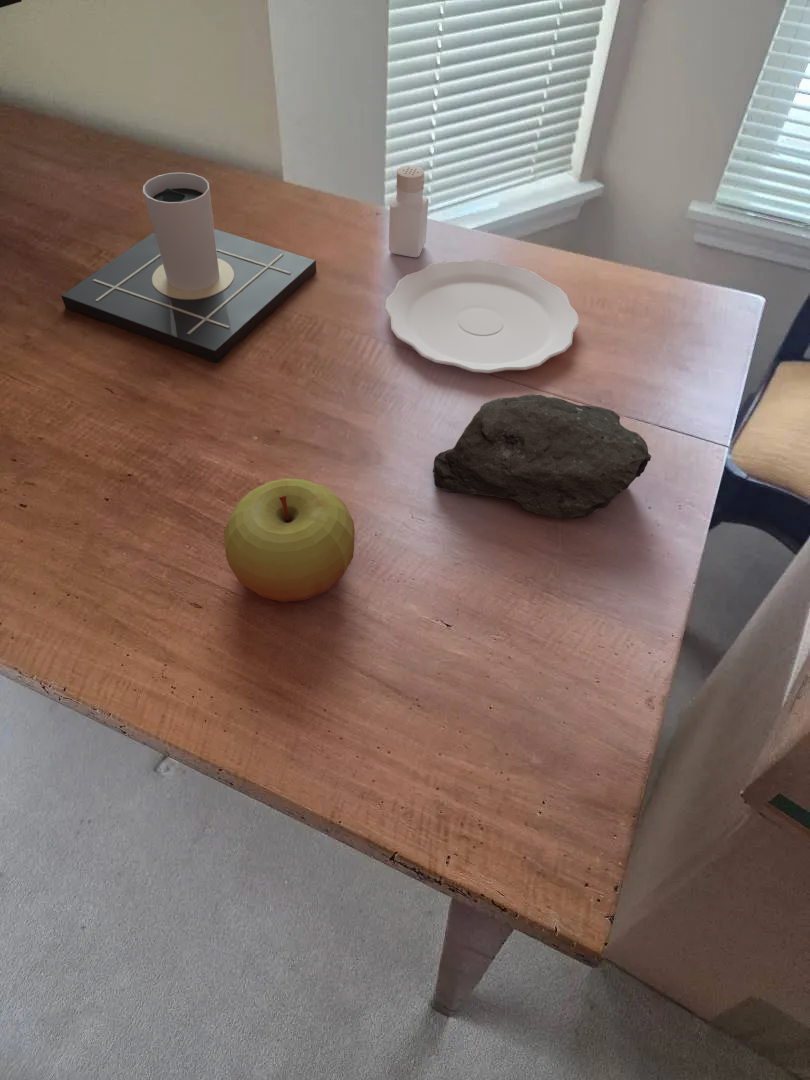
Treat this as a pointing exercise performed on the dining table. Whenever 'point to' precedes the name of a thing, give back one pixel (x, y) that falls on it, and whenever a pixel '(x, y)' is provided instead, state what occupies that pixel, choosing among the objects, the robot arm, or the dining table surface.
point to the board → (192, 294)
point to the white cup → (183, 229)
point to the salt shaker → (408, 213)
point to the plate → (481, 316)
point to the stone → (544, 455)
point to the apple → (289, 539)
